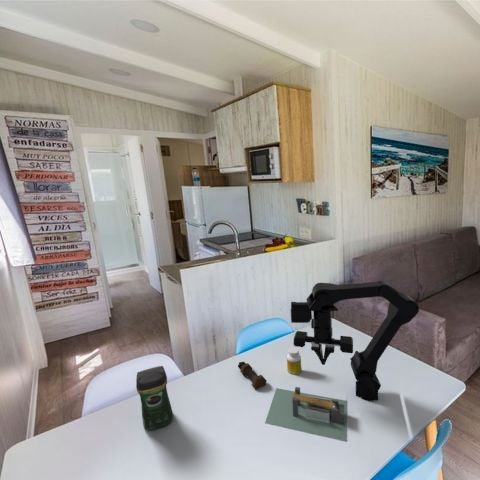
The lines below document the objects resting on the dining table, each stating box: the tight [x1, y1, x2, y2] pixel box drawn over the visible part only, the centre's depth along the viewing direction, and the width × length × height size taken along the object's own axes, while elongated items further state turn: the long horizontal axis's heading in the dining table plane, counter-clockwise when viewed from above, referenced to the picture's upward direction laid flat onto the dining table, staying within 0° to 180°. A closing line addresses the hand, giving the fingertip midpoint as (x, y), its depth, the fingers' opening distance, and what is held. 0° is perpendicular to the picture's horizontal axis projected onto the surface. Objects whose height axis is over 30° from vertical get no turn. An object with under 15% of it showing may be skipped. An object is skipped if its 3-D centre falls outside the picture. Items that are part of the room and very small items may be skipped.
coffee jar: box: [135, 365, 174, 432], centre depth 95 cm, size 10×8×19 cm
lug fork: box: [292, 386, 301, 417], centre depth 95 cm, size 2×6×6 cm, turn 160°
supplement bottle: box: [286, 347, 302, 376], centre depth 114 cm, size 5×5×10 cm
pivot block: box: [331, 400, 344, 425], centre depth 90 cm, size 4×4×4 cm
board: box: [264, 387, 348, 442], centre depth 94 cm, size 24×16×1 cm, turn 70°
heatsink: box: [306, 395, 331, 425], centre depth 93 cm, size 7×7×3 cm
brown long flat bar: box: [292, 393, 337, 409], centre depth 92 cm, size 14×3×1 cm, turn 70°
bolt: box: [237, 361, 267, 390], centre depth 113 cm, size 6×5×15 cm
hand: (323, 364), depth 99 cm, fingers closed
